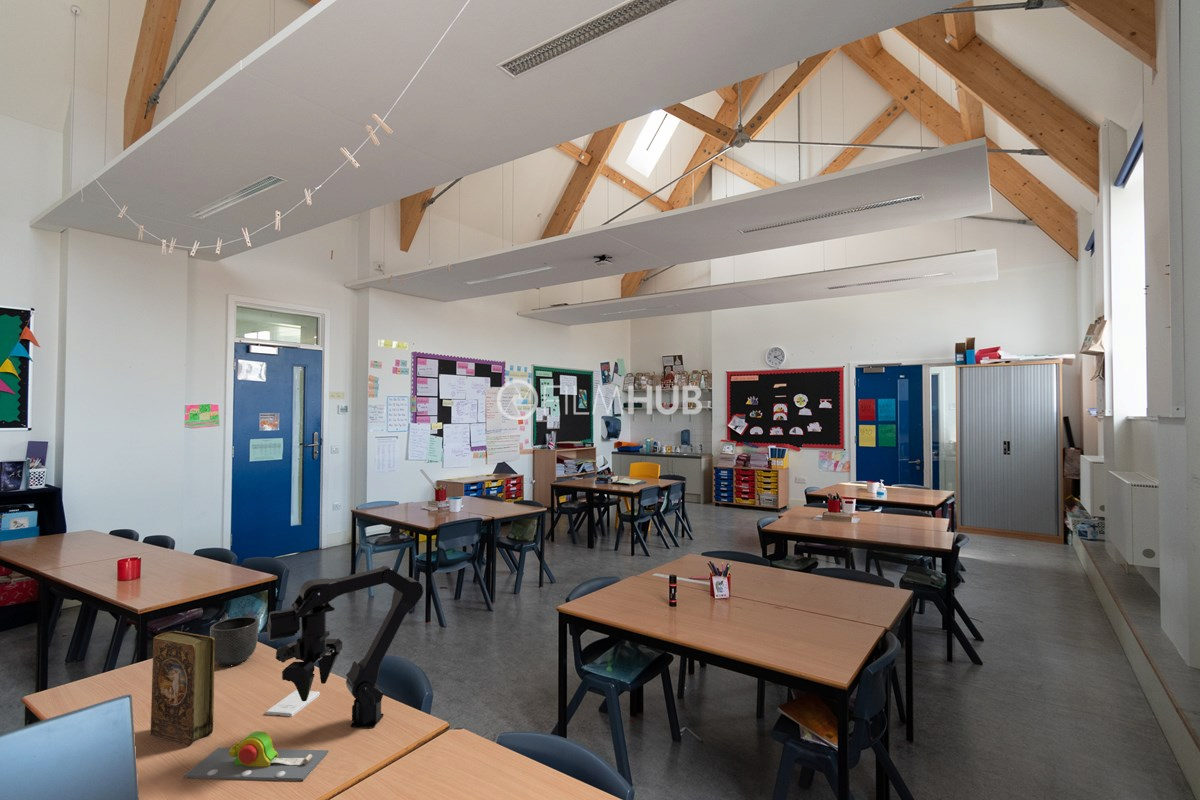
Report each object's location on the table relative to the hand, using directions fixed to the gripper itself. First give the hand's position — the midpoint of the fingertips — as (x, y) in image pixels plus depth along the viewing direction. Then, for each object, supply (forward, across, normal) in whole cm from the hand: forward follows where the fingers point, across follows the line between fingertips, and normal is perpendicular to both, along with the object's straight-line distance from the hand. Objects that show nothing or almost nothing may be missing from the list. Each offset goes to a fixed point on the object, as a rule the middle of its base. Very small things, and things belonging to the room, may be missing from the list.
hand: (314, 691), depth 146 cm
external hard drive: (+12, -17, -16) cm, 26 cm away
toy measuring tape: (+11, +11, -4) cm, 17 cm away
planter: (+12, -45, -52) cm, 70 cm away
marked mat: (+12, +12, -7) cm, 18 cm away
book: (+11, 0, -36) cm, 38 cm away
